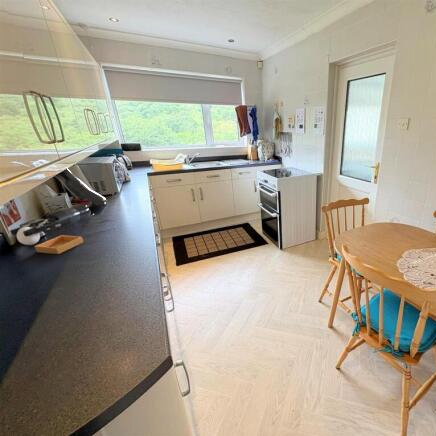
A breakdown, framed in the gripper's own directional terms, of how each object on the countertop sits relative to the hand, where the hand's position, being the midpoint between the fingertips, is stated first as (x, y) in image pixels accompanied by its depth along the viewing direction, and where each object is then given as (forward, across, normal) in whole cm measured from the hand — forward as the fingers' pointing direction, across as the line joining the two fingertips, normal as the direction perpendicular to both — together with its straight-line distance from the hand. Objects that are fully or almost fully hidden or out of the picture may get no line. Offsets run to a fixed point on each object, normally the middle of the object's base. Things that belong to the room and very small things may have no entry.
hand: (18, 233), depth 89 cm
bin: (-19, -12, +18) cm, 28 cm away
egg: (-2, 0, +6) cm, 7 cm away
